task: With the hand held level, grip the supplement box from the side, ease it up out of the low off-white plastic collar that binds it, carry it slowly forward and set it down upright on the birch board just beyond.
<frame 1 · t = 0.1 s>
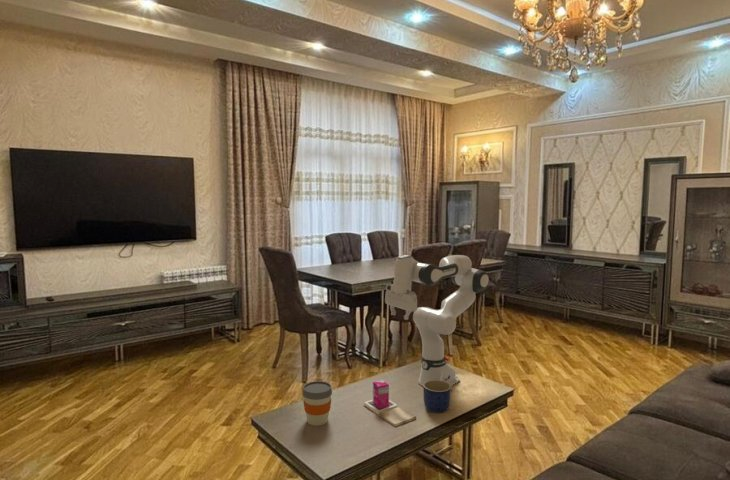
hand: (399, 317, 214), 39 cm above the table, fingers open, 8 cm apart
supplement box: (380, 407, 205), resting in tie collar
reusable coffee cup: (317, 420, 192), on the table
planter: (436, 408, 203), on the table
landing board: (397, 417, 195), on the table
tie collar: (380, 406, 205), on the table
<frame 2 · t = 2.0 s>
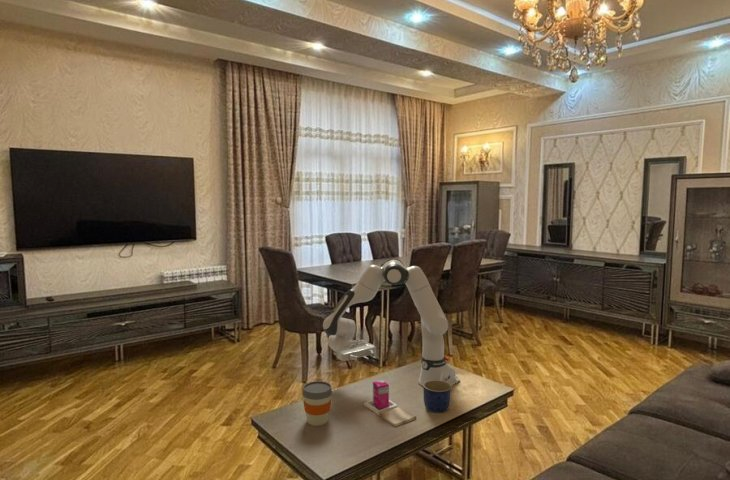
hand: (365, 356, 212), 20 cm above the table, fingers open, 8 cm apart
nothing on the table moved.
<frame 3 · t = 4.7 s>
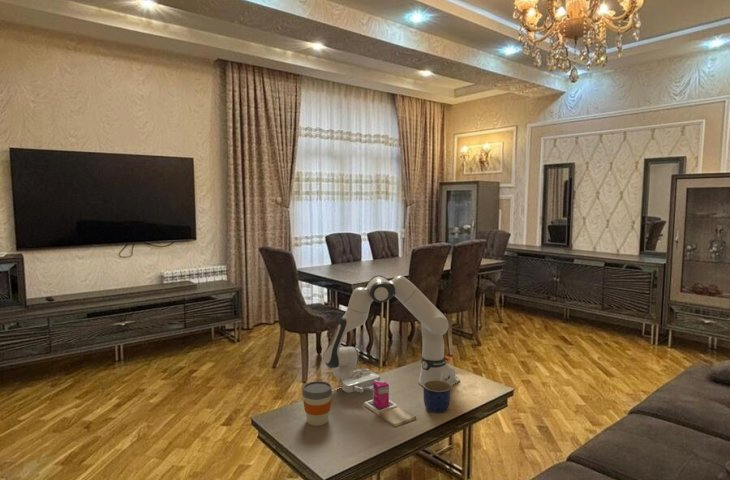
hand: (370, 388, 211), 6 cm above the table, fingers open, 8 cm apart
nothing on the table moved.
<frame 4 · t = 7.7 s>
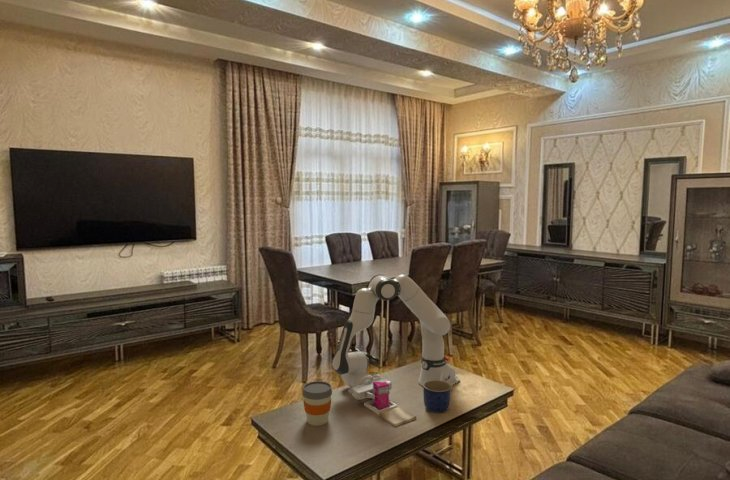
hand: (382, 394, 203), 6 cm above the table, fingers closed on supplement box, 6 cm apart
supplement box: (380, 407, 205), resting in tie collar, touching gripper
everything else where it was.
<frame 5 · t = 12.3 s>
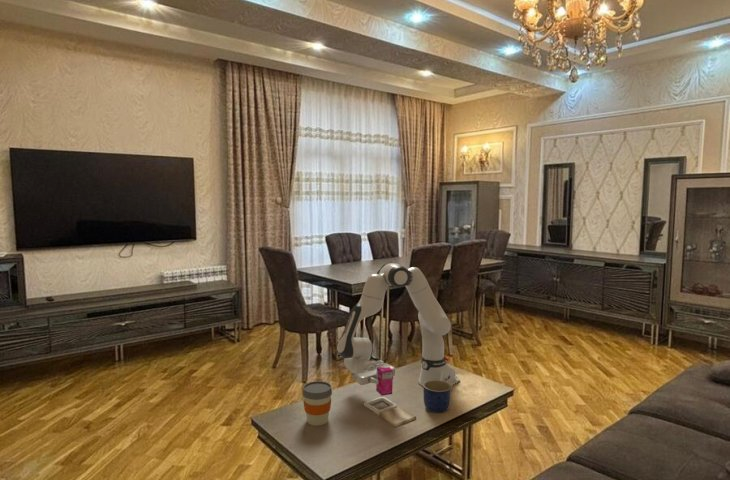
hand: (385, 380, 201), 14 cm above the table, fingers closed on supplement box, 6 cm apart
supplement box: (384, 393, 202), point 7 cm above the table, touching gripper
everything else where it was.
when the fingers open (8 cm above the table, at t = 17.1 s): supplement box drops 1 cm, resting on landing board.
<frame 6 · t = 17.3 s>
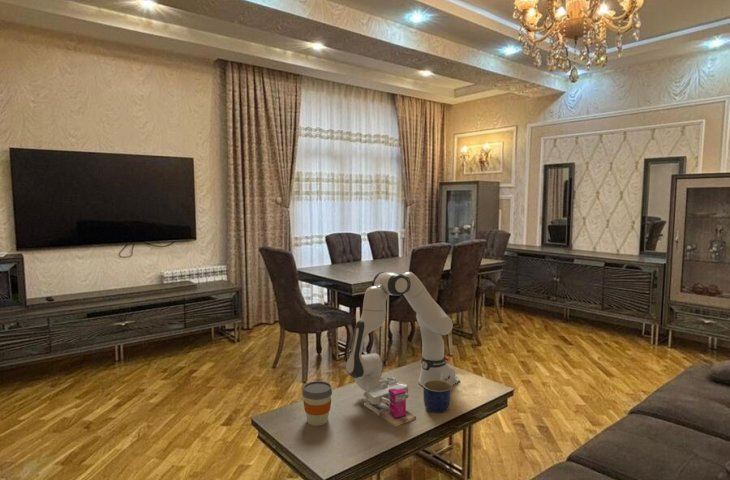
hand: (399, 399, 193), 8 cm above the table, fingers open, 8 cm apart
supplement box: (397, 415, 195), point 1 cm above the table, touching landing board
everything else where it was.
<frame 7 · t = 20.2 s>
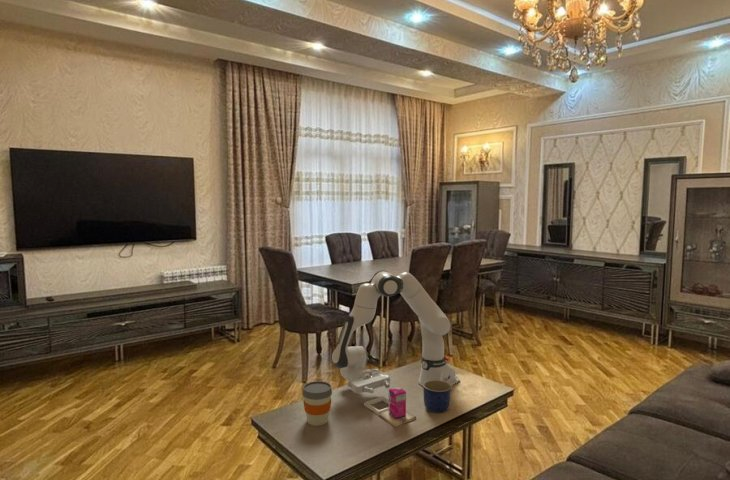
hand: (380, 388, 204), 9 cm above the table, fingers open, 8 cm apart
nothing on the table moved.
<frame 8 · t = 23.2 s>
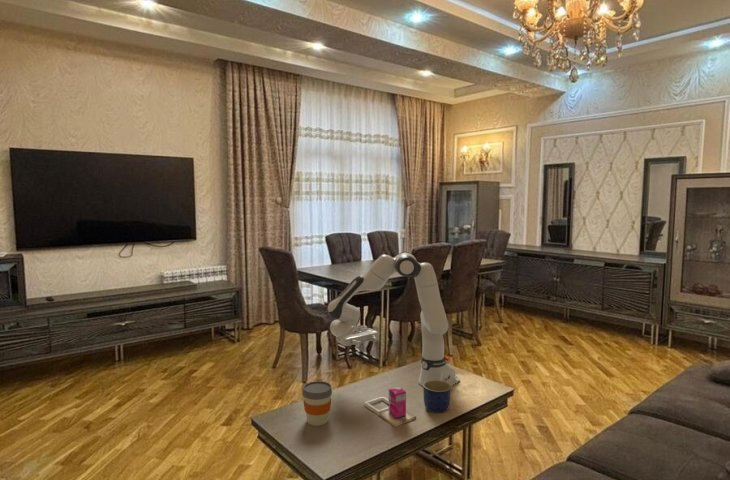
hand: (368, 341, 210), 28 cm above the table, fingers open, 8 cm apart
nothing on the table moved.
at the end: supplement box 0.1 cm off-centre on the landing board, point 0.8 cm above the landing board's base; supplement box tilted 0°; the gripper is holding nothing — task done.
